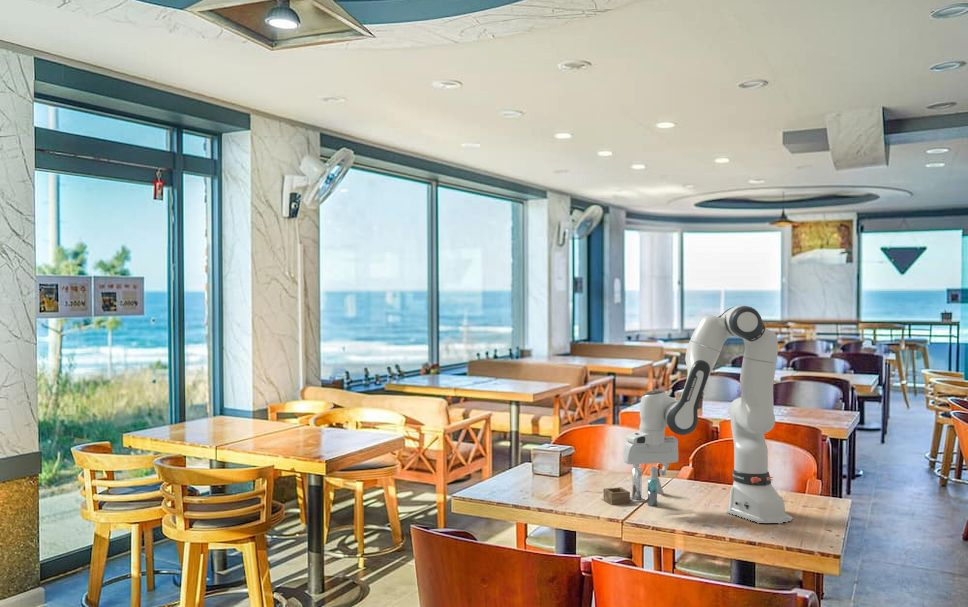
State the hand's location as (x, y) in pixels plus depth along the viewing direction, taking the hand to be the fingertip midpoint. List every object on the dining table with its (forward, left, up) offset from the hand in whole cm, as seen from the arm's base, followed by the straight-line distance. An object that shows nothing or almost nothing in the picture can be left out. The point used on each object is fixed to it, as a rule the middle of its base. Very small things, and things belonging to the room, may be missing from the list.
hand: (650, 475), depth 267 cm
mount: (+8, +6, -11) cm, 15 cm away
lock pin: (+8, +1, -10) cm, 13 cm away
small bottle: (0, -1, -11) cm, 11 cm away
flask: (+17, -11, -12) cm, 23 cm away
